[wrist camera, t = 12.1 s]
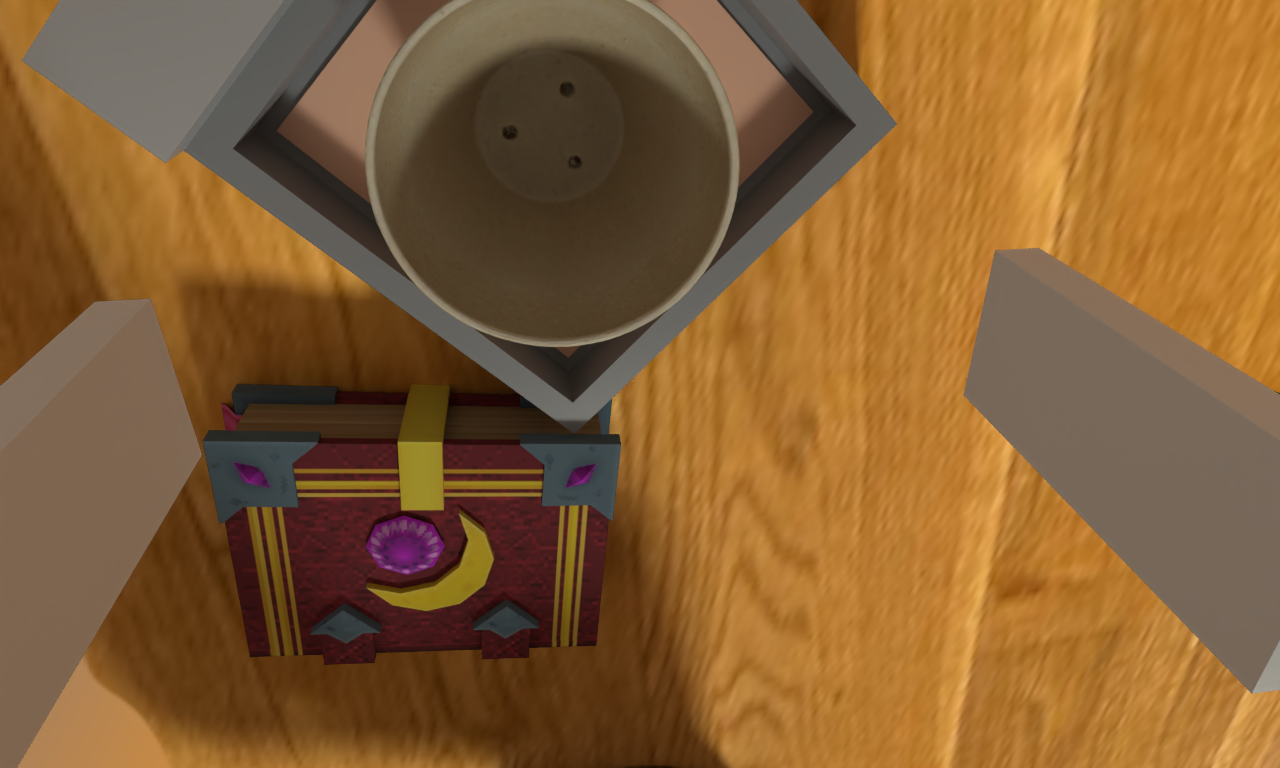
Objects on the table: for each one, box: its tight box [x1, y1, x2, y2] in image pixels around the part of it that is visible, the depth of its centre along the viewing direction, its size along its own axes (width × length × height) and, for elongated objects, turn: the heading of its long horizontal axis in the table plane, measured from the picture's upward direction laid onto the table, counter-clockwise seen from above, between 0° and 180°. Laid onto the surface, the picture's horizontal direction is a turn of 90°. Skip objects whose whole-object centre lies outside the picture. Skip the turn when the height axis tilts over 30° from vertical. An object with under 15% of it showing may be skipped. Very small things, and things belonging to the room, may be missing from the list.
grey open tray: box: [22, 0, 897, 434], centre depth 26 cm, size 16×20×5 cm
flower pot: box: [365, 0, 740, 347], centre depth 25 cm, size 10×10×7 cm
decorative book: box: [203, 384, 621, 665], centre depth 34 cm, size 11×16×5 cm
